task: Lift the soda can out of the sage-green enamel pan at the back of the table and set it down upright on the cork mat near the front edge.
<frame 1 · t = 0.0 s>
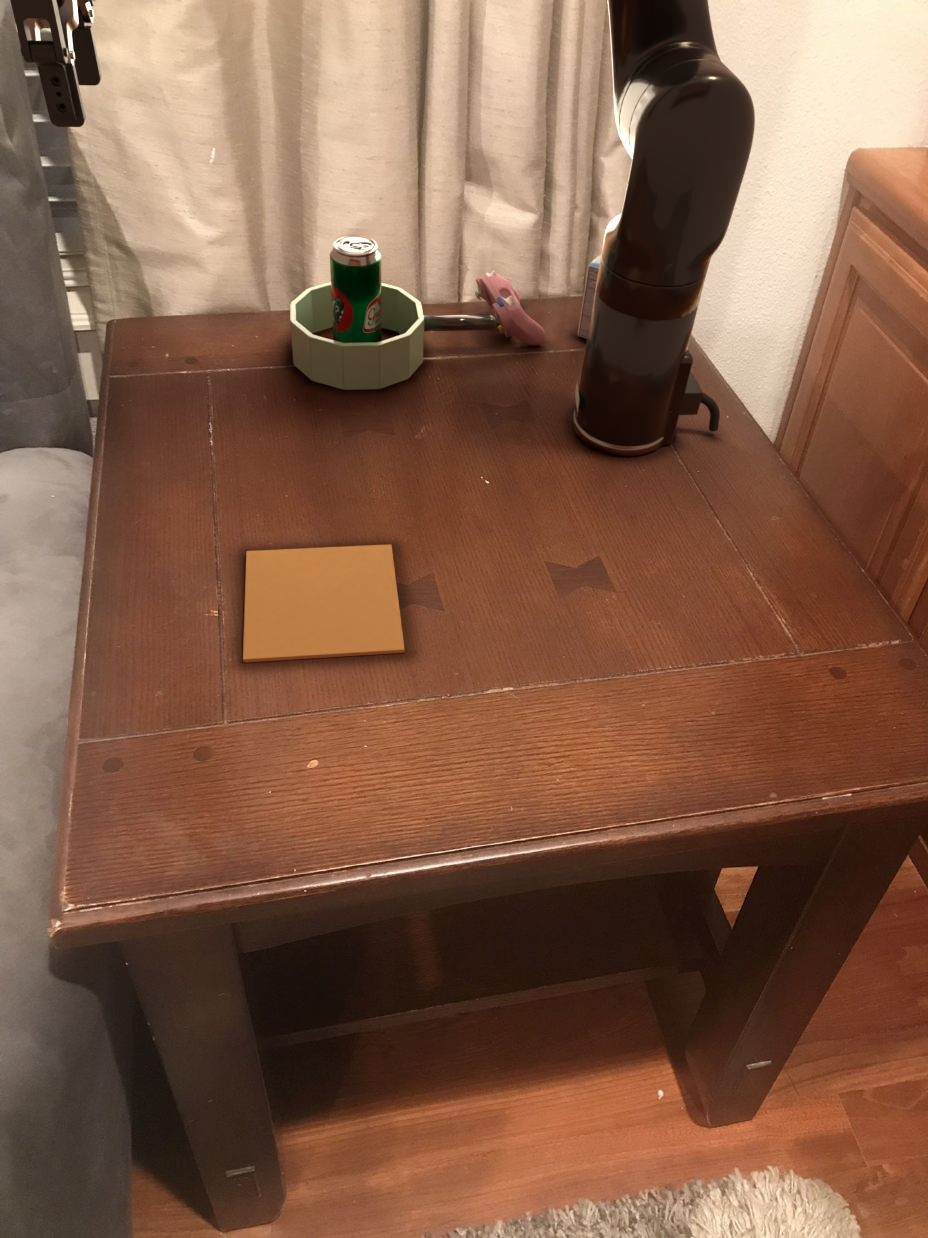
hand: (78, 103, 67), 29 cm above the table, tool pointing down, fingers open, 8 cm apart
soda can: (357, 355, 102), resting in pan
cork mat: (322, 601, 76), on the table
pan: (357, 354, 101), on the table
video game controller: (506, 329, 107), on the table
medicine box: (615, 341, 107), on the table
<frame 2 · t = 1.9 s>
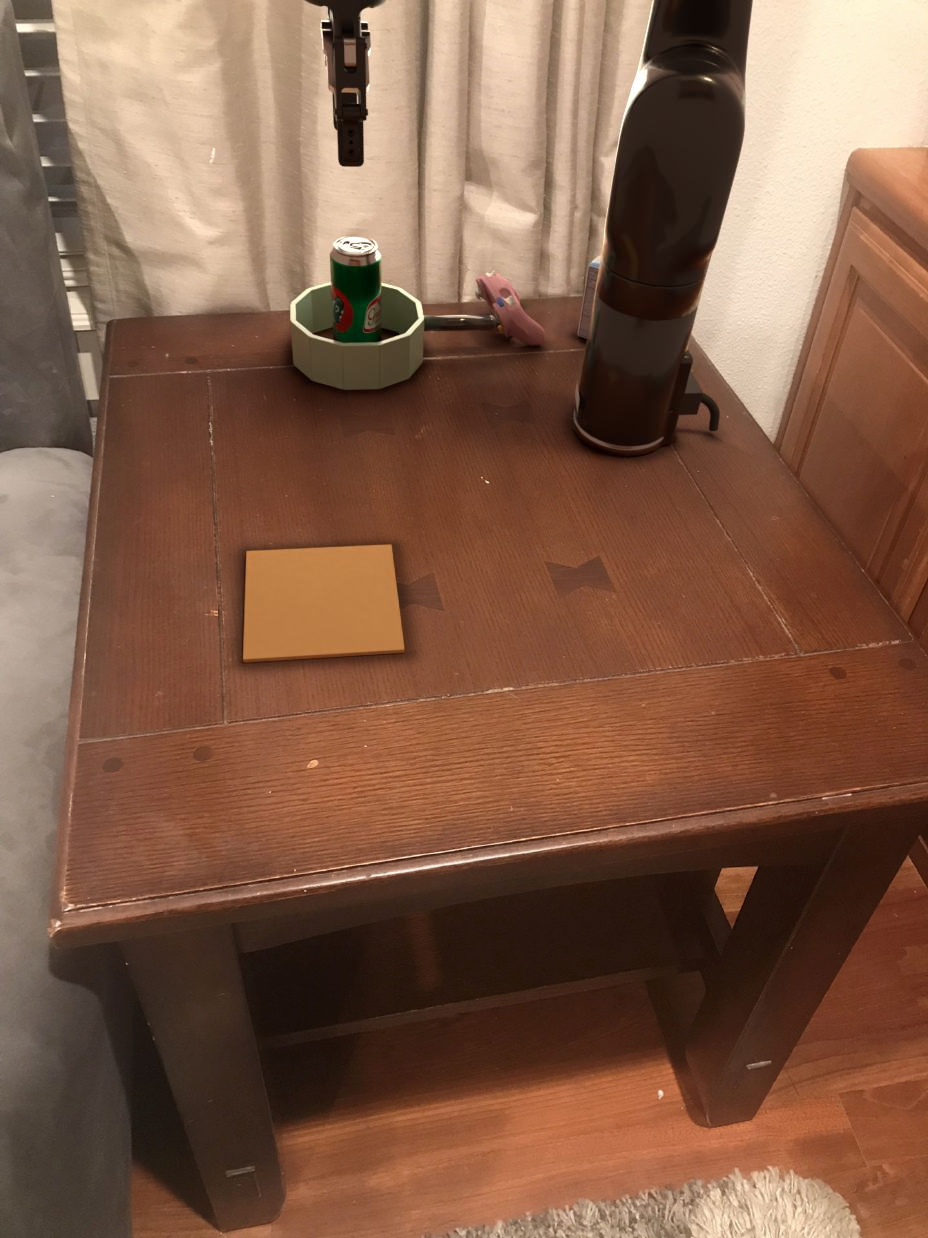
hand: (348, 146, 86), 21 cm above the table, tool pointing down, fingers open, 8 cm apart
nothing on the table moved.
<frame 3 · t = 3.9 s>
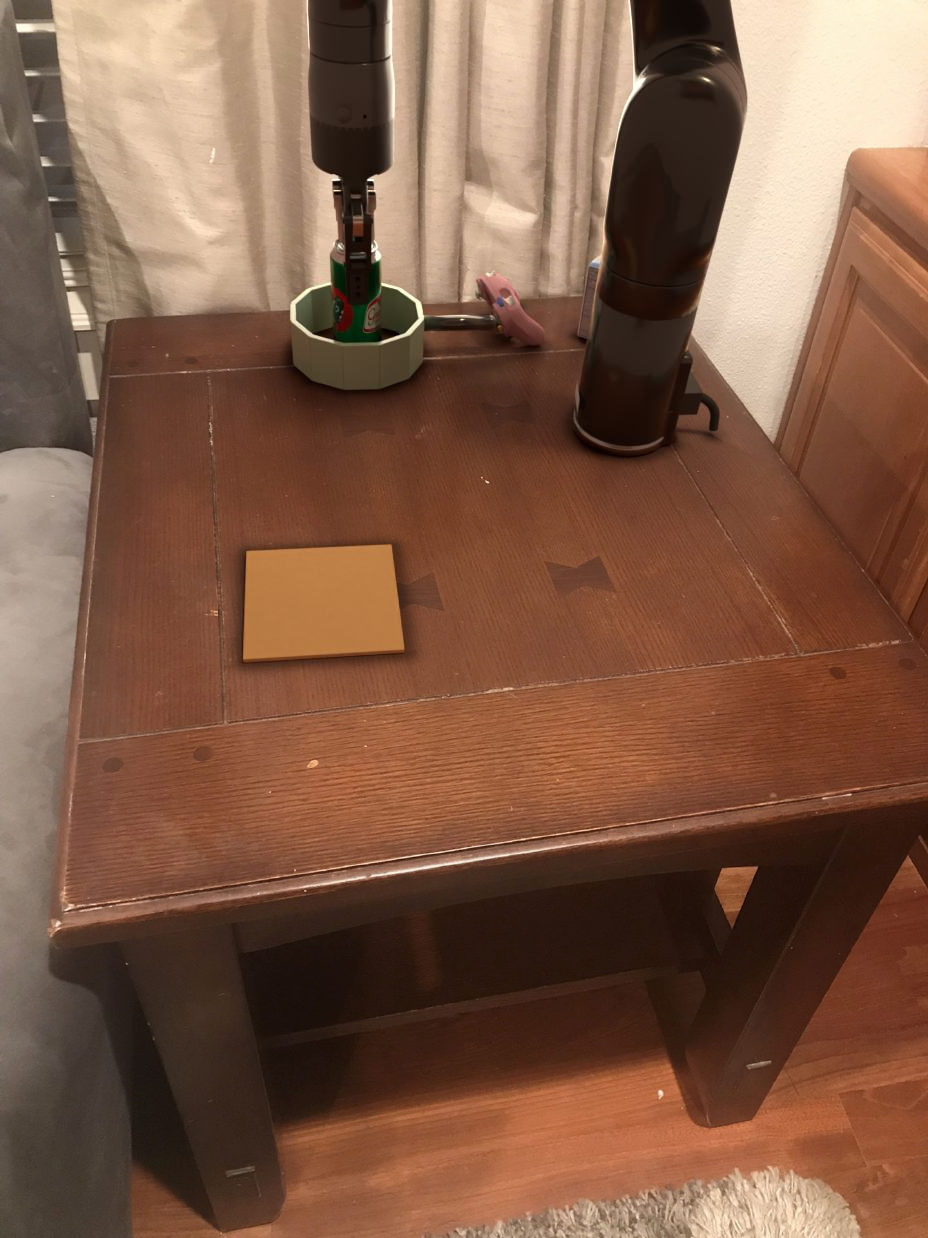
hand: (356, 288, 96), 7 cm above the table, tool pointing down, fingers closed on soda can, 5 cm apart
soda can: (357, 355, 102), resting in pan, touching gripper
everything else where it was.
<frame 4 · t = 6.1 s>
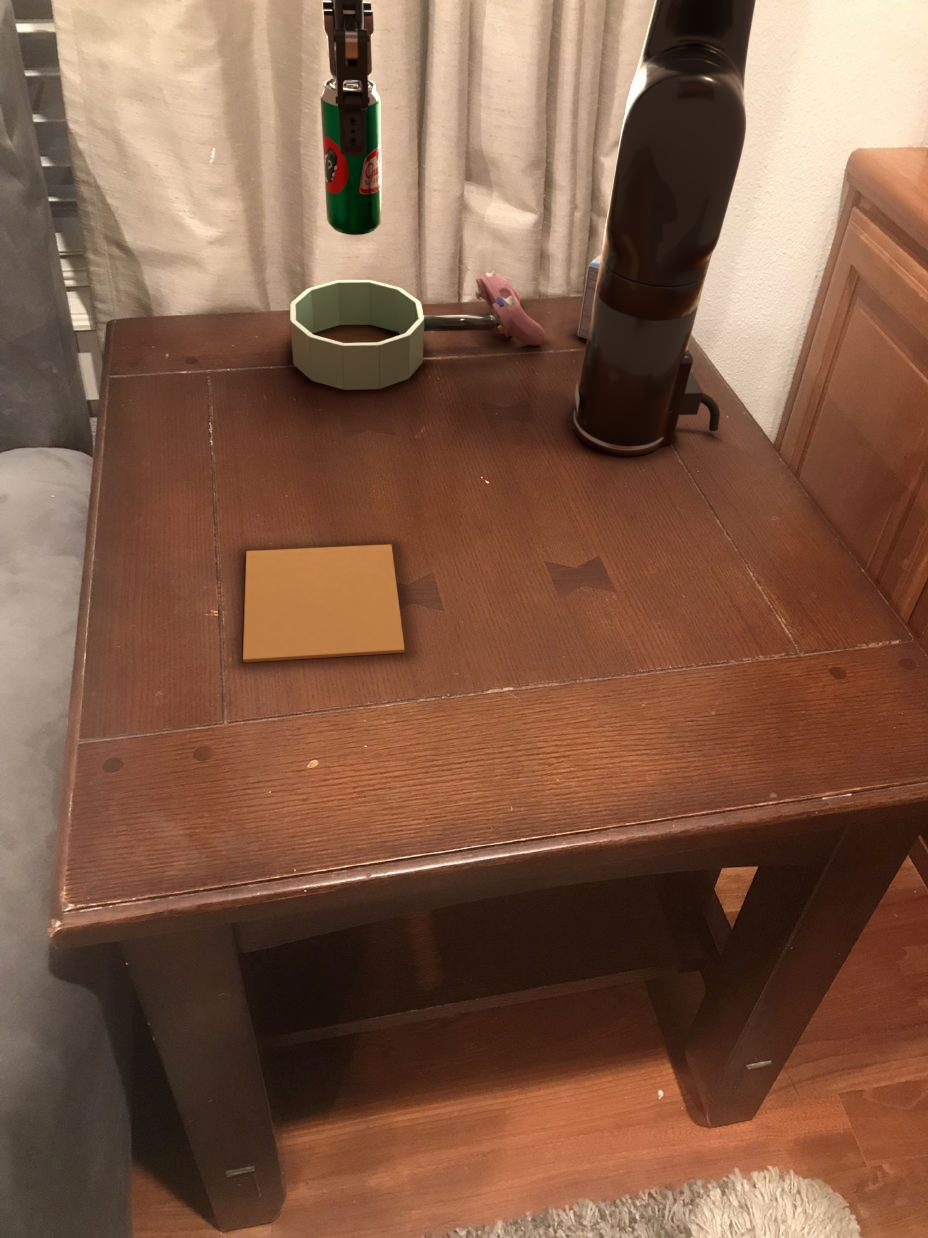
hand: (351, 141, 83), 23 cm above the table, tool pointing down, fingers closed on soda can, 5 cm apart
soda can: (354, 227, 89), point 15 cm above the table, touching gripper
everything else where it was.
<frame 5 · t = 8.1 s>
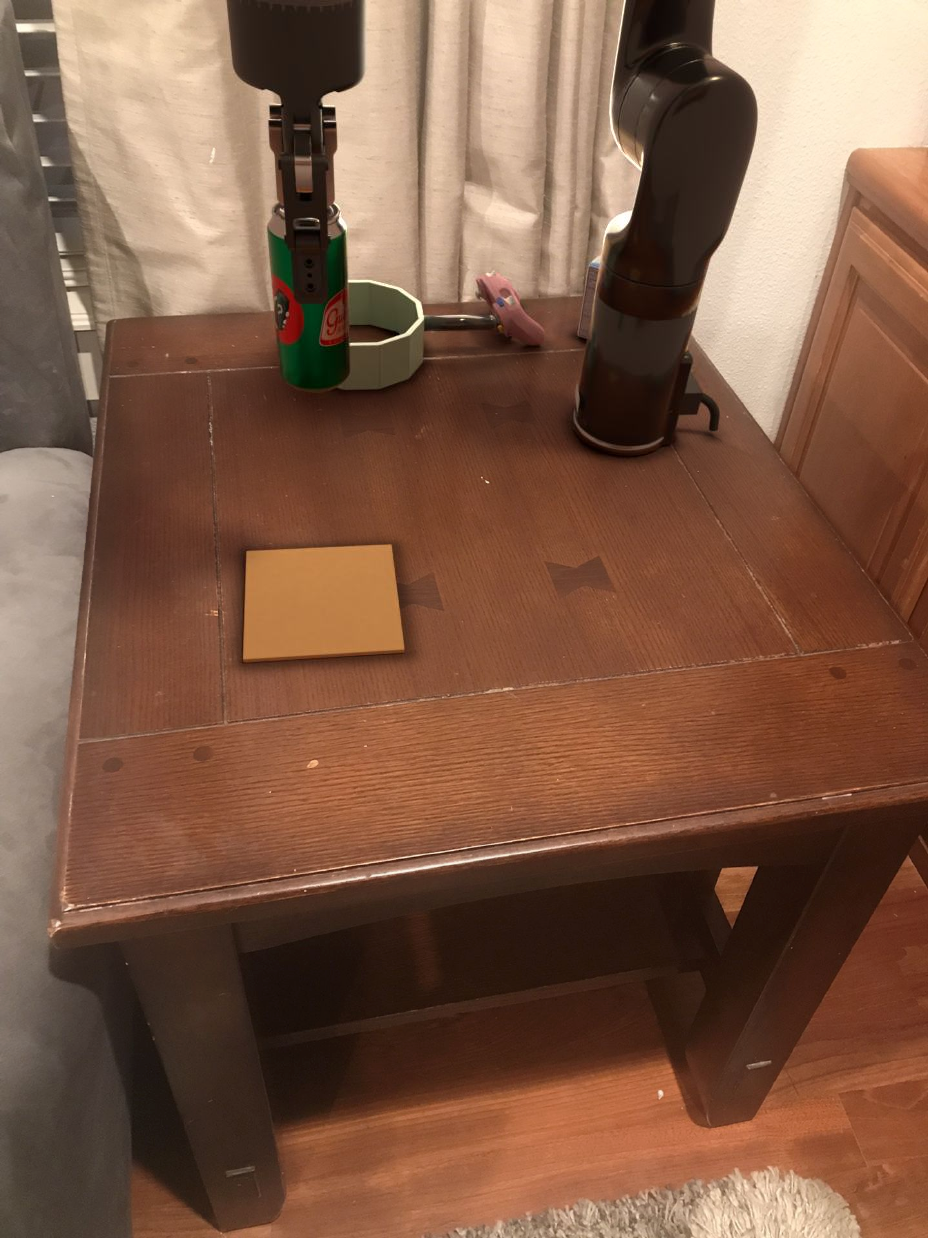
hand: (310, 278, 63), 24 cm above the table, tool pointing down, fingers closed on soda can, 5 cm apart
soda can: (315, 379, 69), point 16 cm above the table, touching gripper
everything else where it was.
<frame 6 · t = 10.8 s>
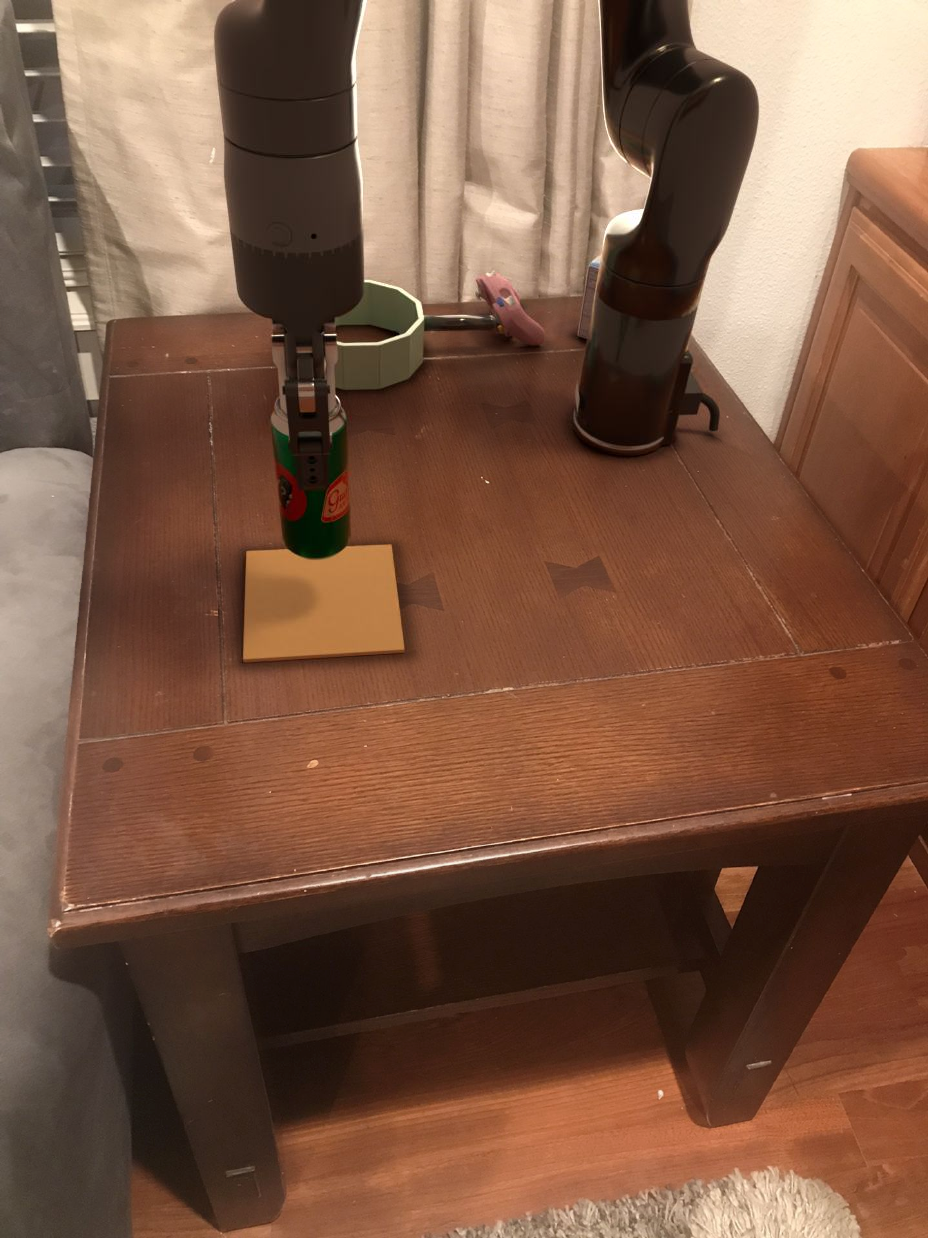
hand: (312, 460, 66), 14 cm above the table, tool pointing down, fingers closed on soda can, 5 cm apart
soda can: (317, 543, 71), point 6 cm above the table, touching gripper
everything else where it was.
when the fingers open (8 cm above the table, at t = 12.6 s): soda can stays where it is, resting on cork mat.
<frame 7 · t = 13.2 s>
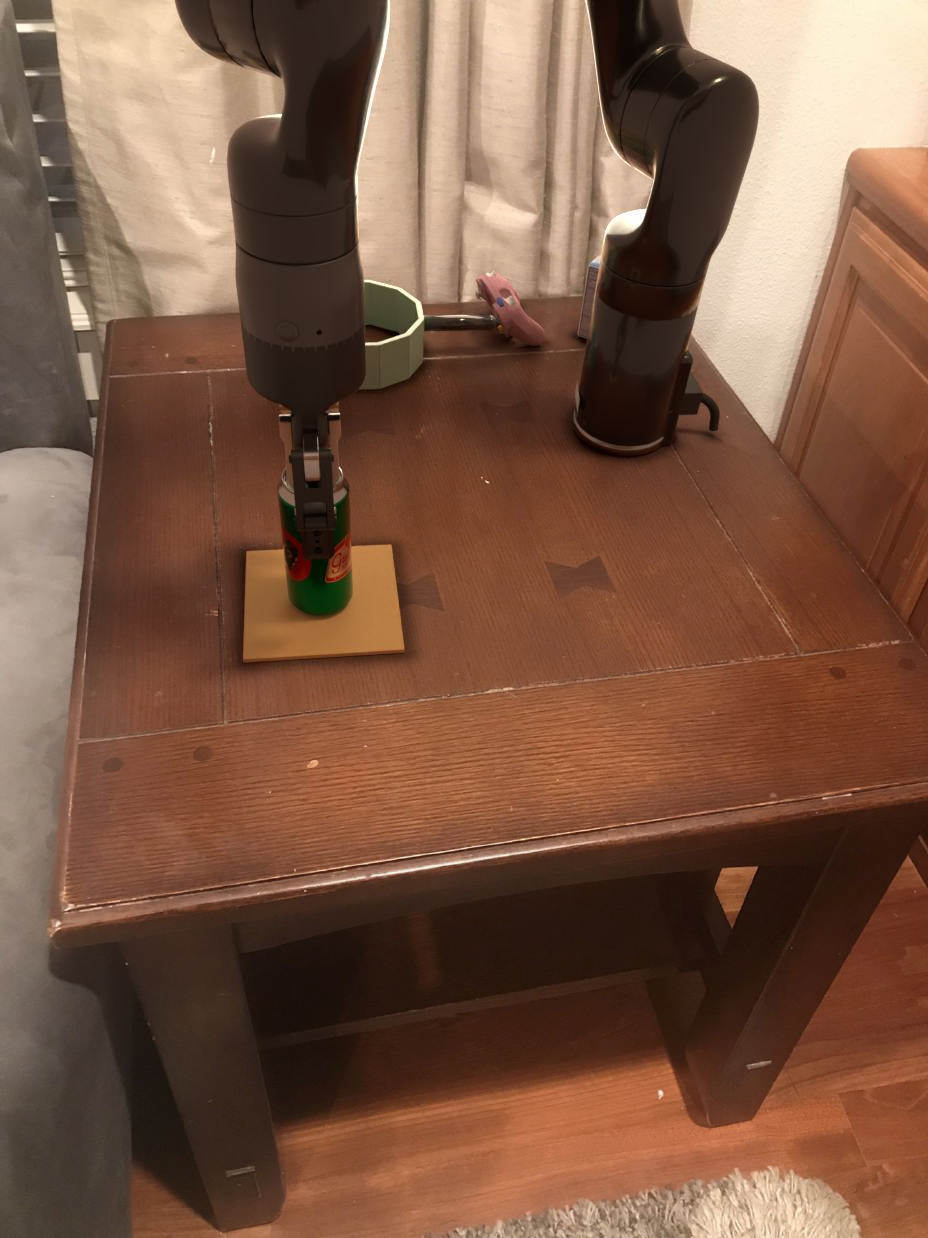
hand: (316, 516, 69), 9 cm above the table, tool pointing down, fingers open, 8 cm apart
soda can: (321, 598, 75), resting on cork mat
everything else where it was.
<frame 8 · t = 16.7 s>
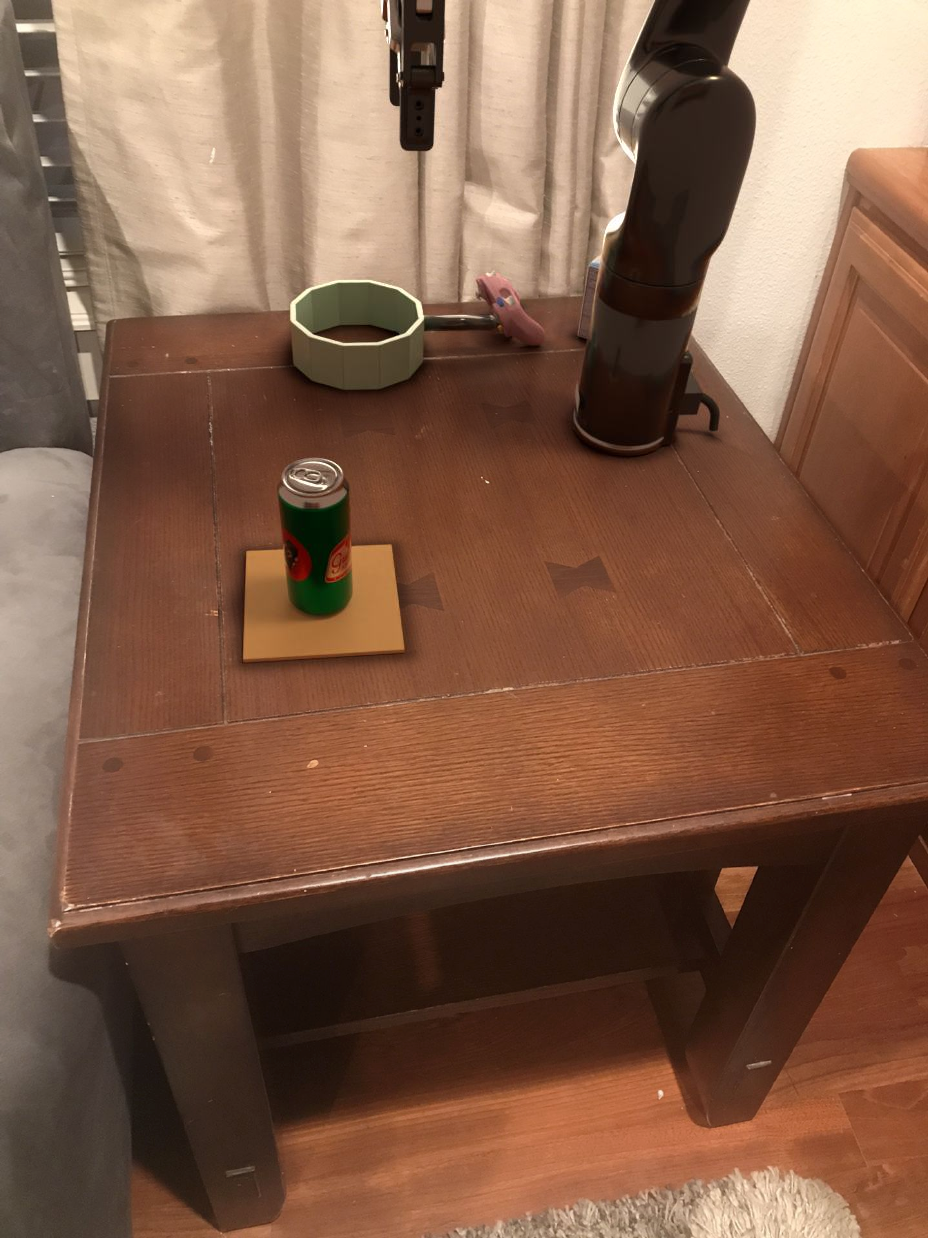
hand: (410, 125, 66), 30 cm above the table, tool pointing down, fingers open, 8 cm apart
nothing on the table moved.
at the end: soda can inside the target area on the cork mat (0.1 cm from its centre), point 0.2 cm above the cork mat's base; soda can tilted 0°; the gripper is holding nothing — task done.
